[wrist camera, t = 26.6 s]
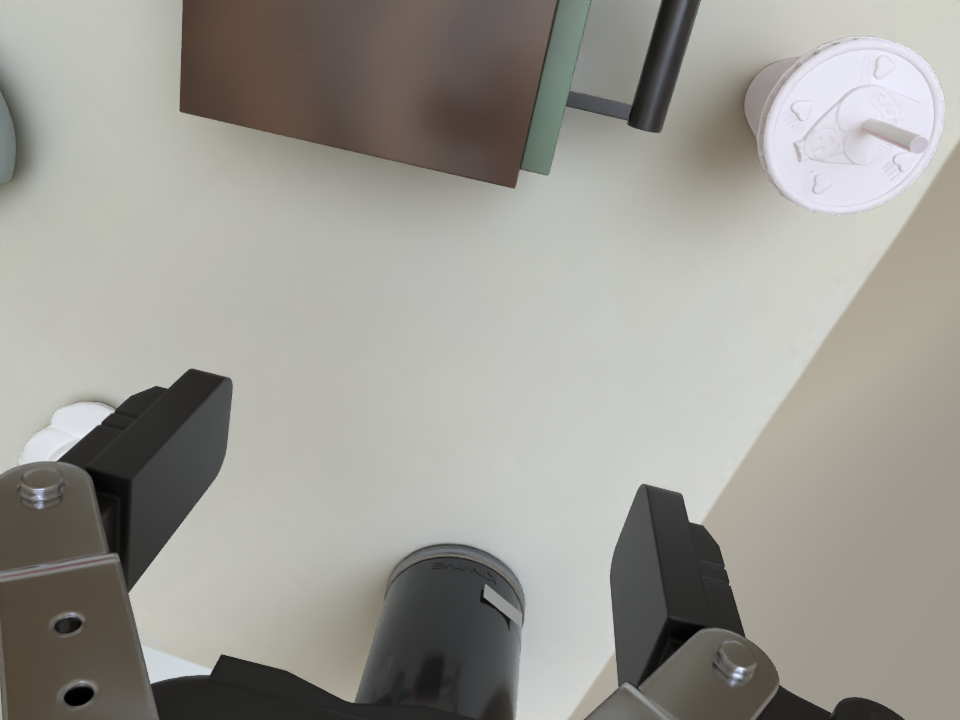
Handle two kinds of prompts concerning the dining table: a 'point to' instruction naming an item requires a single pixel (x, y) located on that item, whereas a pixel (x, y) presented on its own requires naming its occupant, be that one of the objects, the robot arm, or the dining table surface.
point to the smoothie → (846, 123)
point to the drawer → (556, 95)
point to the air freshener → (6, 143)
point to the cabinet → (374, 75)
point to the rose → (64, 431)
